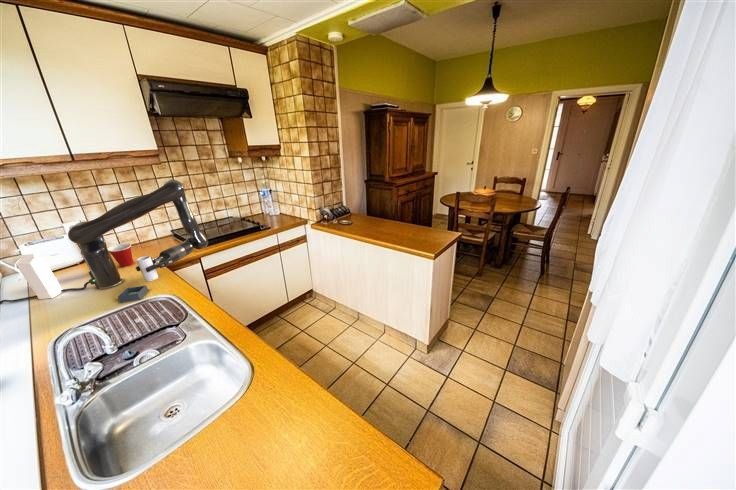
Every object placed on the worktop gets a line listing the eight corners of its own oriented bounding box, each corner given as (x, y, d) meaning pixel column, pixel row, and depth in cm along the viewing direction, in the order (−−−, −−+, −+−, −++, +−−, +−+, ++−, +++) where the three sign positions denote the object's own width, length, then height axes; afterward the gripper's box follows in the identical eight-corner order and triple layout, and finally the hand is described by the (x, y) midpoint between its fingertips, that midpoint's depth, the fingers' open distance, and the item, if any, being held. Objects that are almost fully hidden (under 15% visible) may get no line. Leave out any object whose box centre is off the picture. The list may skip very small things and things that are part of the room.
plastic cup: (125, 269, 152) (116, 250, 147) (110, 268, 154) (101, 249, 149) (143, 261, 161) (135, 243, 157) (129, 260, 164) (121, 242, 159)
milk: (52, 298, 127) (26, 257, 118) (38, 299, 127) (11, 258, 118) (64, 291, 133) (40, 251, 124) (51, 292, 132) (26, 252, 123)
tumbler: (143, 282, 125) (133, 261, 121) (148, 276, 130) (139, 256, 125) (155, 280, 126) (146, 259, 122) (160, 275, 131) (152, 255, 126)
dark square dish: (120, 302, 120) (117, 297, 119) (129, 293, 127) (127, 288, 126) (140, 299, 122) (137, 293, 120) (148, 290, 129) (146, 285, 127)
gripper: (159, 247, 138) (126, 261, 123) (182, 248, 135) (151, 263, 120) (164, 260, 141) (132, 276, 126) (187, 261, 138) (157, 277, 123)
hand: (142, 269), depth 123 cm, fingers closed on tumbler, 5 cm apart
